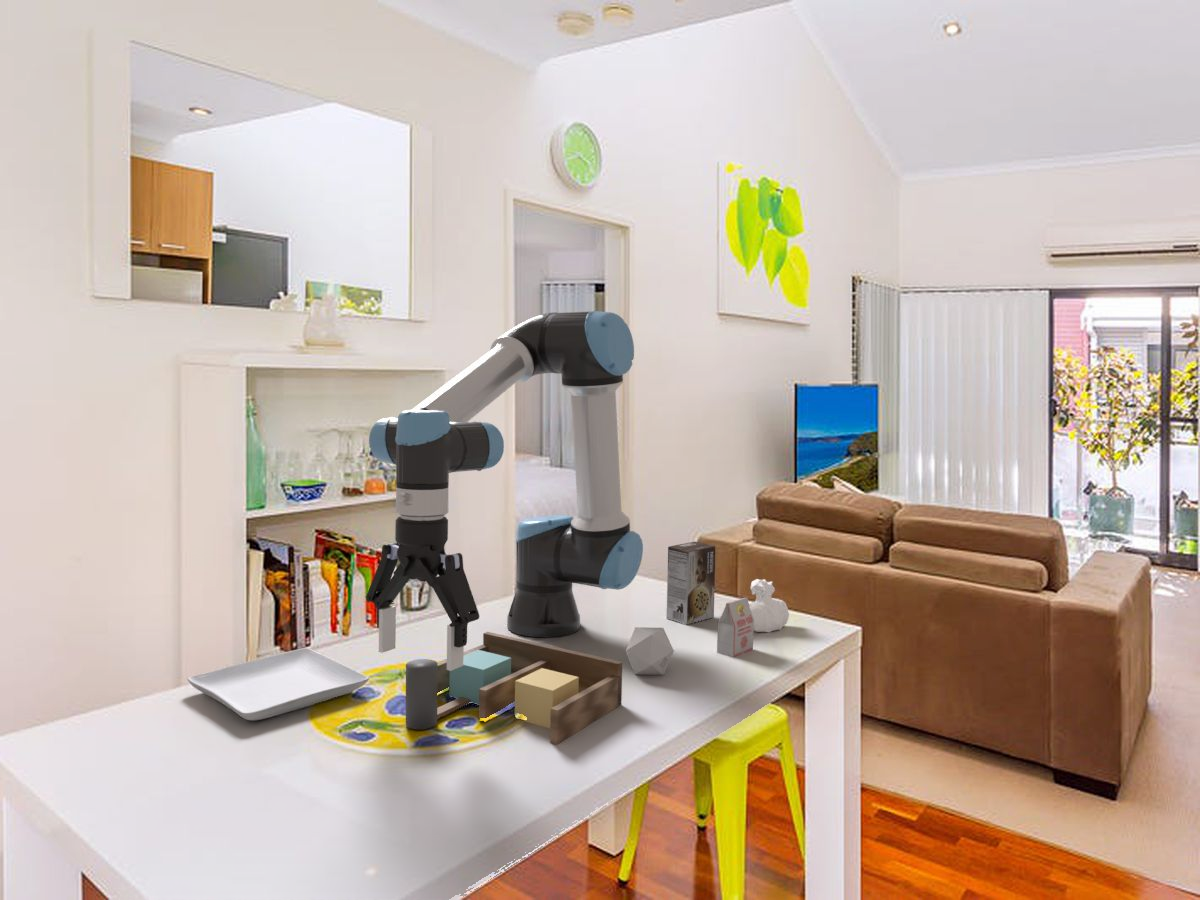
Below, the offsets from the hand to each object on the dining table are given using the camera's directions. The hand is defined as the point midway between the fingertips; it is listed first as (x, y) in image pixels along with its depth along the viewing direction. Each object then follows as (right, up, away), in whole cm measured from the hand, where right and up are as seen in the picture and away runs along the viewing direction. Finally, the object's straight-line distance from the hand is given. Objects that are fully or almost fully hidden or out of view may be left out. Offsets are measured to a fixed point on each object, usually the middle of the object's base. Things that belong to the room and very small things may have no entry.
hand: (420, 659), depth 126 cm
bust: (+61, -7, +55) cm, 82 cm away
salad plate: (-25, -9, +12) cm, 30 cm away
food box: (+46, -6, +61) cm, 76 cm away
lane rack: (+13, -10, +10) cm, 20 cm away
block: (+18, -10, +6) cm, 22 cm away
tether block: (+4, -9, +7) cm, 13 cm away
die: (+35, -9, +26) cm, 45 cm away
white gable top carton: (+53, -8, +39) cm, 66 cm away
